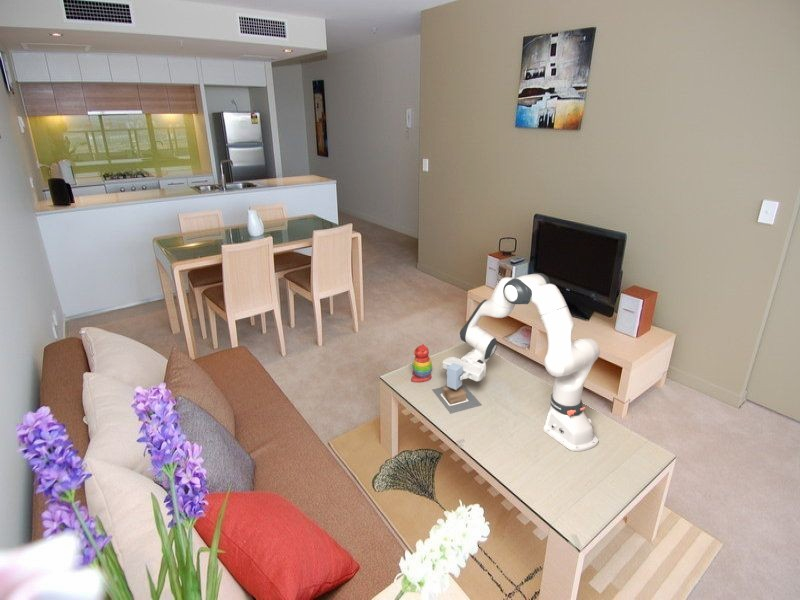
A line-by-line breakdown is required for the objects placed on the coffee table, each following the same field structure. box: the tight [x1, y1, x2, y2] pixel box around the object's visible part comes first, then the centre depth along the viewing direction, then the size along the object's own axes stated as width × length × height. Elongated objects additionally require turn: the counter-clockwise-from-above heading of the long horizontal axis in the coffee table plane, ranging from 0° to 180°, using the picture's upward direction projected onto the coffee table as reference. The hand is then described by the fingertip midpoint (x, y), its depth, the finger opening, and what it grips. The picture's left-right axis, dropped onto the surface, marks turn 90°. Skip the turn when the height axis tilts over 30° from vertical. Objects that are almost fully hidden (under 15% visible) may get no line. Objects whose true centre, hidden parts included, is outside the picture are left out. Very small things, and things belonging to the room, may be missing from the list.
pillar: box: [446, 363, 463, 390], centre depth 210 cm, size 5×5×10 cm
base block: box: [443, 386, 466, 404], centre depth 213 cm, size 8×8×4 cm
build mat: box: [431, 382, 483, 415], centre depth 215 cm, size 20×16×1 cm
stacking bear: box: [410, 343, 433, 384], centre depth 228 cm, size 11×10×18 cm
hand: (453, 376), depth 209 cm, fingers closed on pillar, 5 cm apart
